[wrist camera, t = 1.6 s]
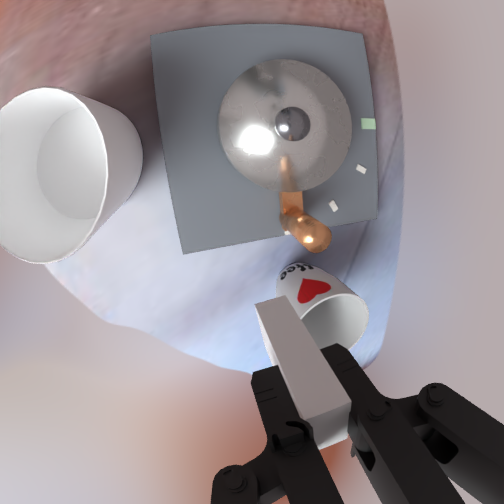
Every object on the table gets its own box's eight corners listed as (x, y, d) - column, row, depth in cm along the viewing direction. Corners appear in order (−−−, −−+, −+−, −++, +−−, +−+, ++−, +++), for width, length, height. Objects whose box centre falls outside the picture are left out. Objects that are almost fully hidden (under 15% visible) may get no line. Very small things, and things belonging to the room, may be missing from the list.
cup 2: (332, 251, 33) (379, 291, 24) (318, 309, 36) (354, 357, 27) (268, 249, 31) (301, 295, 22) (259, 311, 34) (283, 367, 25)
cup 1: (30, 191, 23) (-37, 223, 12) (71, 90, 20) (9, 68, 9) (115, 235, 27) (77, 292, 16) (164, 132, 24) (145, 124, 14)
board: (152, 42, 20) (149, 34, 18) (353, 38, 24) (363, 33, 22) (183, 247, 29) (183, 255, 27) (368, 214, 32) (378, 219, 30)
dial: (209, 70, 21) (216, 47, 15) (331, 67, 23) (368, 53, 17) (232, 239, 27) (245, 267, 21) (343, 219, 29) (378, 239, 23)
